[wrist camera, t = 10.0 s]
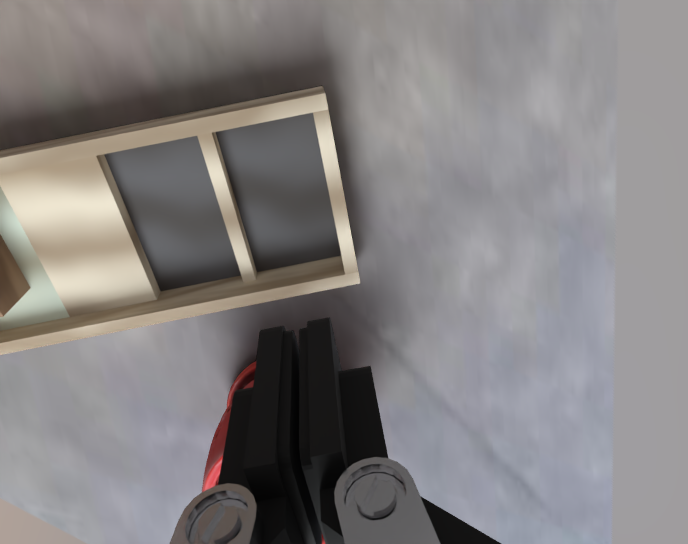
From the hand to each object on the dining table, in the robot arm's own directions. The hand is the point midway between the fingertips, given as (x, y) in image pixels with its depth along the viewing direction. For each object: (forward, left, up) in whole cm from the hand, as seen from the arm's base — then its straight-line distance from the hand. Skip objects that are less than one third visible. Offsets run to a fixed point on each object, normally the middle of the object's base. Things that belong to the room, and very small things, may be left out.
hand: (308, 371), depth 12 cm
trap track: (+4, -14, -27) cm, 30 cm away
